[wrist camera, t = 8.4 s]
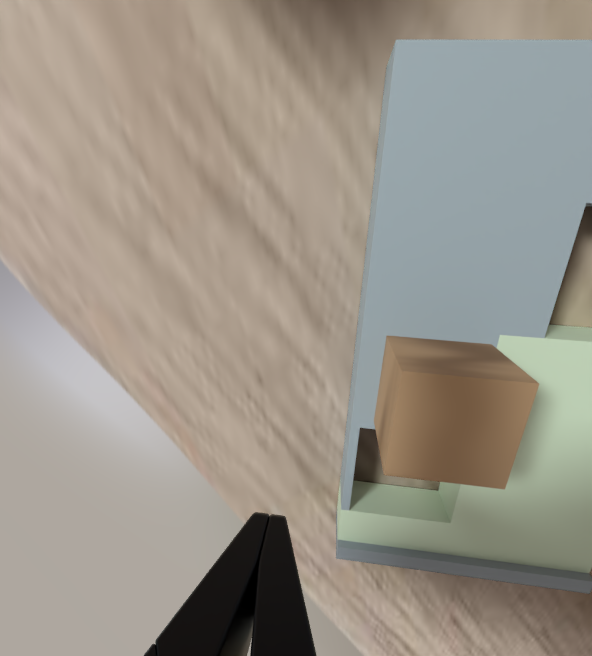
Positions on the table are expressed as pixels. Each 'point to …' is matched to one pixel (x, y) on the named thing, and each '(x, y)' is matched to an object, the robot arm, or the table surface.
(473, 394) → the block
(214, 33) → the table surface
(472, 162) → the board
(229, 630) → the robot arm
